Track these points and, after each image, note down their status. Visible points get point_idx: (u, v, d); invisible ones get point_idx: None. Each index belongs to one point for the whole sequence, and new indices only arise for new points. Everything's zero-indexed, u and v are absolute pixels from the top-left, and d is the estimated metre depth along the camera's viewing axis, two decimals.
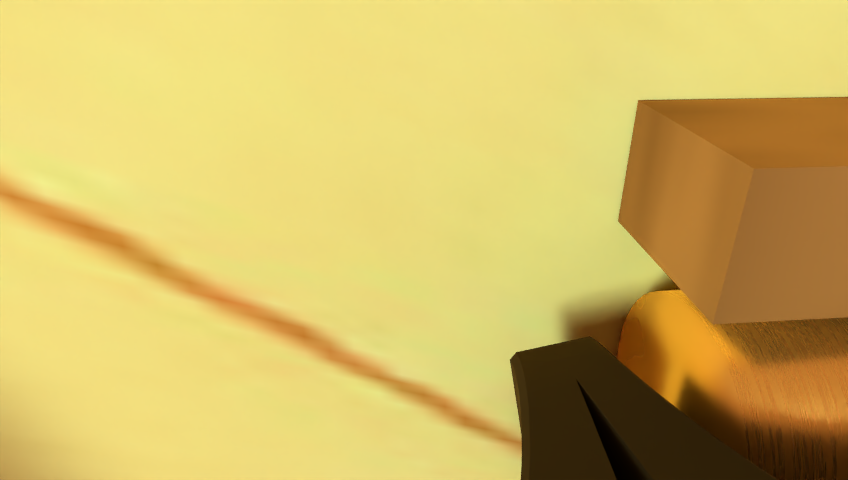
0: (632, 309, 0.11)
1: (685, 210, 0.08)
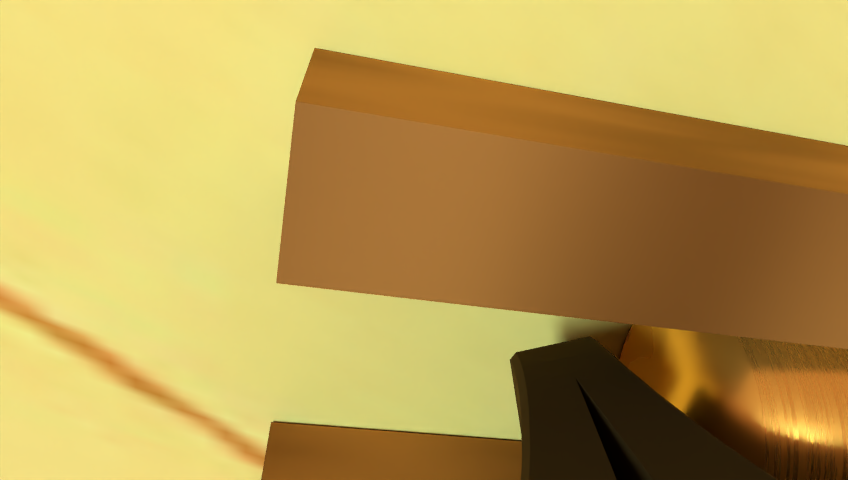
0: None
1: None
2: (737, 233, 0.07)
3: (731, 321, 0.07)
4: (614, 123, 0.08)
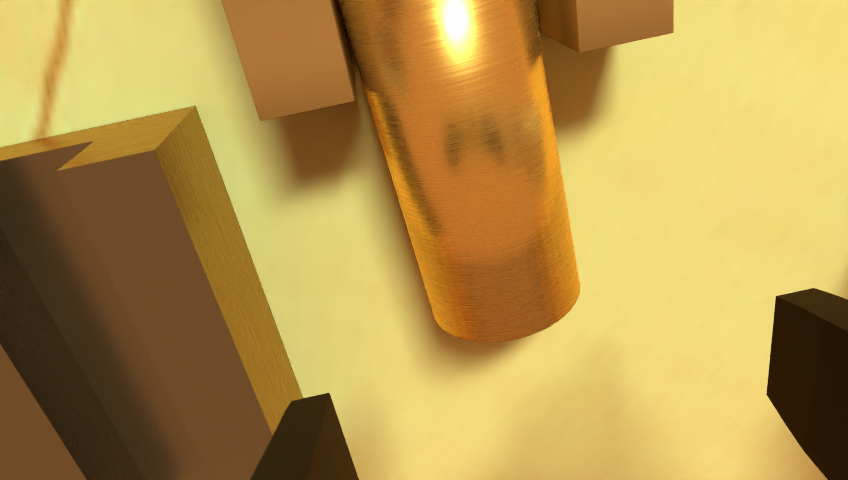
0: None
1: None
2: None
3: None
4: None
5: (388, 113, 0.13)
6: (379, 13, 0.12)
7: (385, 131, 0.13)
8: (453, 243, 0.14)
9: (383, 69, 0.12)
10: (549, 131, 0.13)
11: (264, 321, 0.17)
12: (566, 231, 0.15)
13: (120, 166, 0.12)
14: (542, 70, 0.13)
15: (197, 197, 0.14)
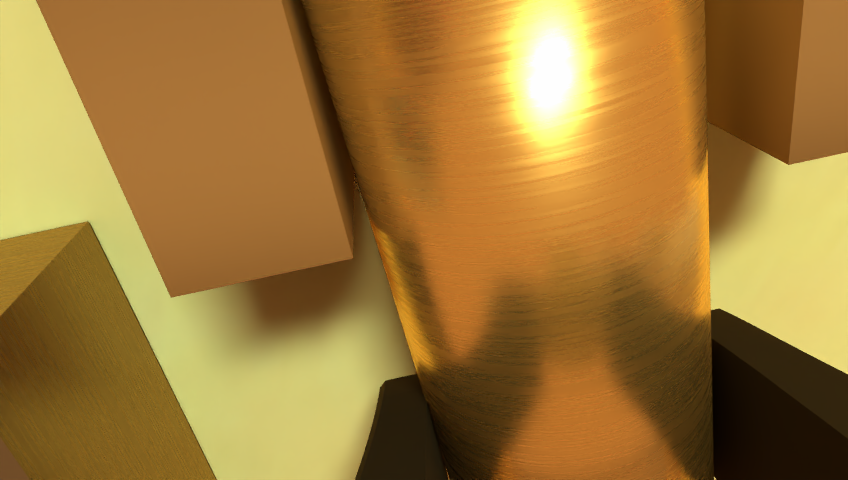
0: None
1: None
2: None
3: None
4: None
5: (412, 278, 0.07)
6: (403, 101, 0.05)
7: (404, 300, 0.07)
8: None
9: (406, 206, 0.06)
10: (709, 305, 0.07)
11: None
12: (712, 455, 0.08)
13: None
14: None
15: (75, 401, 0.08)
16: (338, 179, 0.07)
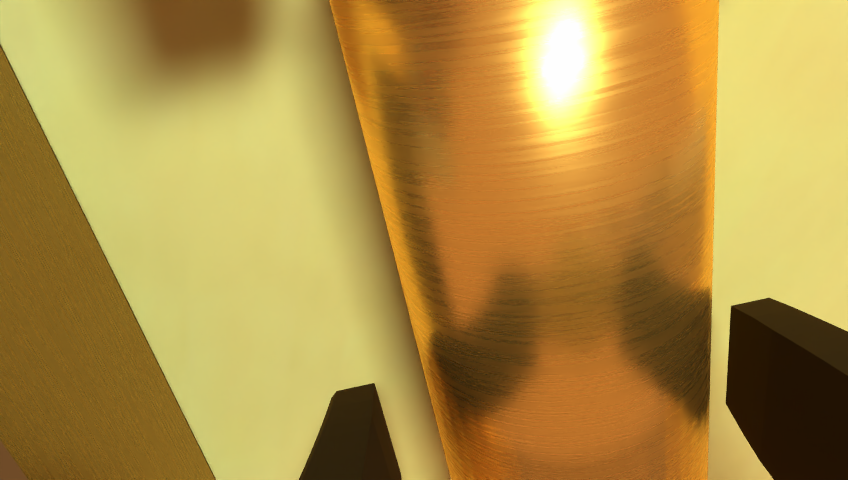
0: None
1: None
2: None
3: None
4: None
5: (424, 257, 0.07)
6: (427, 76, 0.05)
7: (414, 280, 0.07)
8: None
9: (424, 183, 0.06)
10: (711, 292, 0.07)
11: (111, 340, 0.09)
12: (707, 443, 0.09)
13: None
14: (714, 187, 0.07)
15: None
16: None
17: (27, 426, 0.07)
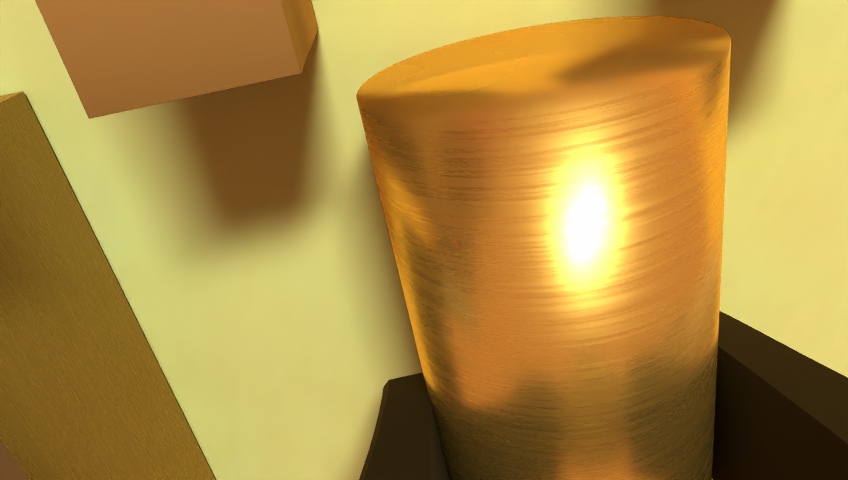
0: (608, 18, 0.08)
1: None
2: None
3: None
4: None
5: (464, 431, 0.08)
6: (476, 310, 0.06)
7: (452, 441, 0.08)
8: None
9: (468, 382, 0.07)
10: None
11: (173, 457, 0.10)
12: None
13: None
14: None
15: None
16: None
17: None
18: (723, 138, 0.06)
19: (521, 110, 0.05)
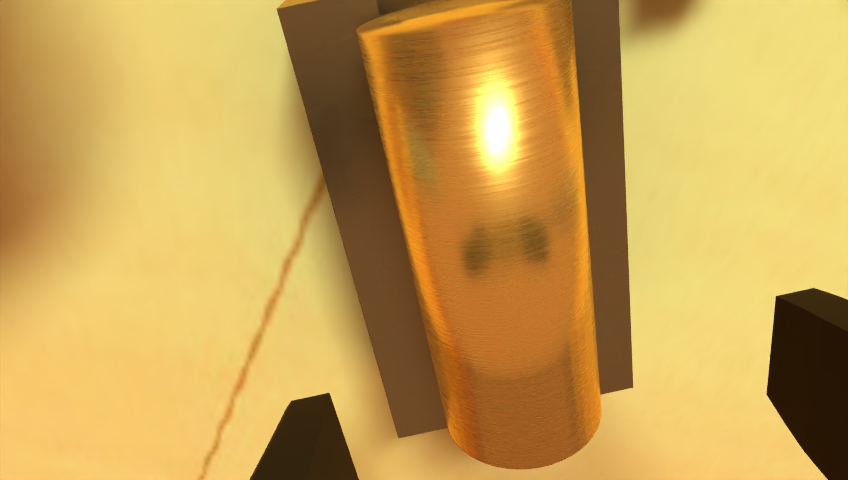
0: None
1: None
2: None
3: None
4: None
5: (424, 244, 0.12)
6: (426, 152, 0.11)
7: (417, 258, 0.13)
8: (480, 374, 0.13)
9: (424, 204, 0.12)
10: (587, 266, 0.13)
11: None
12: (594, 359, 0.14)
13: None
14: (585, 206, 0.13)
15: None
16: None
17: None
18: (566, 49, 0.11)
19: (444, 27, 0.10)
